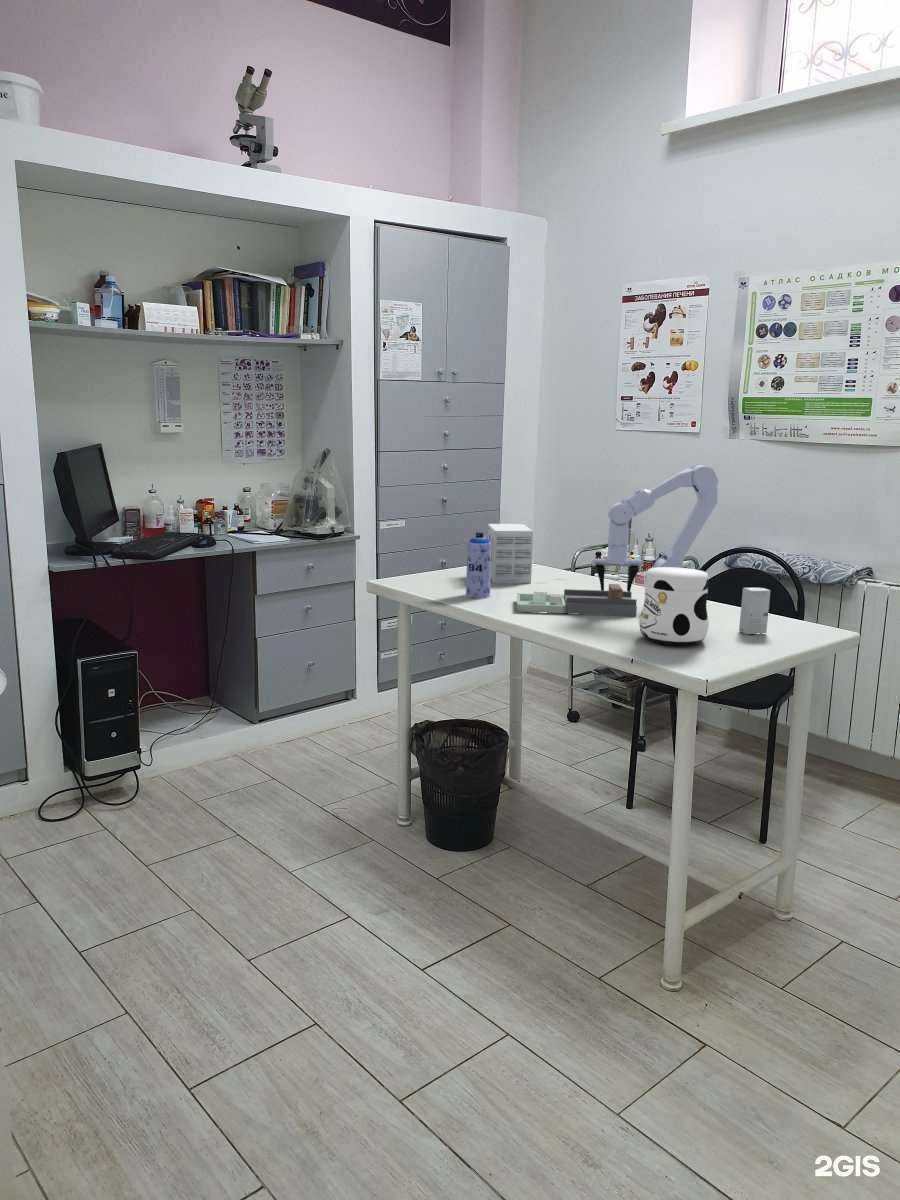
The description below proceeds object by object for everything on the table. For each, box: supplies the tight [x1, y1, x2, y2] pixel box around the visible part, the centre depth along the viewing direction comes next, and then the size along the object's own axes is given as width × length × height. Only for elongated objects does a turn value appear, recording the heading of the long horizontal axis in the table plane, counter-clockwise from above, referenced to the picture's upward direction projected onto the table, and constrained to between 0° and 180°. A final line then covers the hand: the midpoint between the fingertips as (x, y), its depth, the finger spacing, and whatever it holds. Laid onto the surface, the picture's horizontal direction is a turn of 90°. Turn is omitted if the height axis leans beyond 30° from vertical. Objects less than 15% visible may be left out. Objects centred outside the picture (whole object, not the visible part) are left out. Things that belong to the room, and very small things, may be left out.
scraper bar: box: [608, 583, 624, 599], centre depth 268 cm, size 3×9×4 cm, turn 176°
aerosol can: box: [465, 532, 491, 599], centre depth 283 cm, size 8×8×20 cm
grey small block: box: [532, 591, 548, 605], centre depth 274 cm, size 4×4×3 cm
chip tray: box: [516, 592, 566, 613], centre depth 270 cm, size 14×16×2 cm
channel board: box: [563, 588, 638, 617], centre depth 269 cm, size 20×15×4 cm
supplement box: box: [487, 523, 534, 584], centre depth 312 cm, size 17×13×18 cm
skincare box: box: [738, 587, 771, 635], centre depth 243 cm, size 6×4×12 cm
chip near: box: [549, 593, 561, 605], centre depth 266 cm, size 4×4×3 cm
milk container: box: [638, 567, 710, 646], centre depth 233 cm, size 17×17×18 cm
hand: (615, 590), depth 268 cm, fingers open, 7 cm apart
